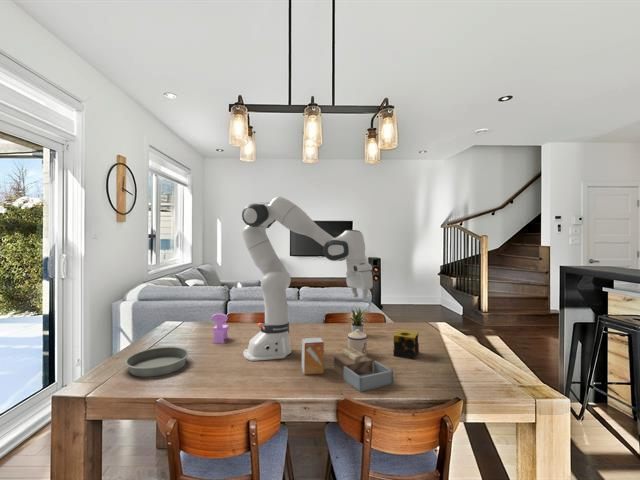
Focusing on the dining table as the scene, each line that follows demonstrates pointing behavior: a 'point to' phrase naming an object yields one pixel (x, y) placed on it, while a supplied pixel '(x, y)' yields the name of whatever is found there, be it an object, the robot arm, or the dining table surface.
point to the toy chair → (220, 328)
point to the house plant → (358, 320)
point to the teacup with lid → (358, 341)
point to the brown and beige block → (353, 365)
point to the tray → (369, 378)
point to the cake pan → (156, 361)
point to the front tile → (356, 357)
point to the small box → (312, 355)
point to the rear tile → (347, 351)
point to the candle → (406, 344)
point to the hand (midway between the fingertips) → (360, 298)
